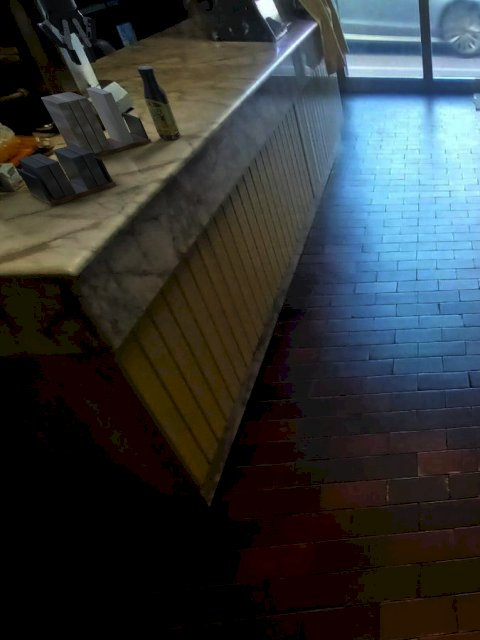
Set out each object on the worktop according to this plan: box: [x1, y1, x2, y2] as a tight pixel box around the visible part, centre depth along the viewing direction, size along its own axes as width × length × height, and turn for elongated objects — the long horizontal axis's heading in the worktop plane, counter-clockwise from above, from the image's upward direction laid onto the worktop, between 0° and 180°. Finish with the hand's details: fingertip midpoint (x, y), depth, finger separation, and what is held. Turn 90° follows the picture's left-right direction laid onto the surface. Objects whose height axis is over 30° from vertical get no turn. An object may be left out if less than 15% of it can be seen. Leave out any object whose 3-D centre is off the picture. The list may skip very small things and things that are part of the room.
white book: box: [85, 86, 134, 145], centre depth 154 cm, size 2×9×14 cm, turn 58°
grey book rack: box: [16, 145, 117, 207], centre depth 132 cm, size 16×10×9 cm, turn 148°
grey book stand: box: [40, 91, 152, 158], centre depth 152 cm, size 20×10×15 cm, turn 148°
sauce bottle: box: [136, 65, 181, 141], centre depth 158 cm, size 7×6×20 cm
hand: (85, 63), depth 144 cm, fingers open, 3 cm apart
